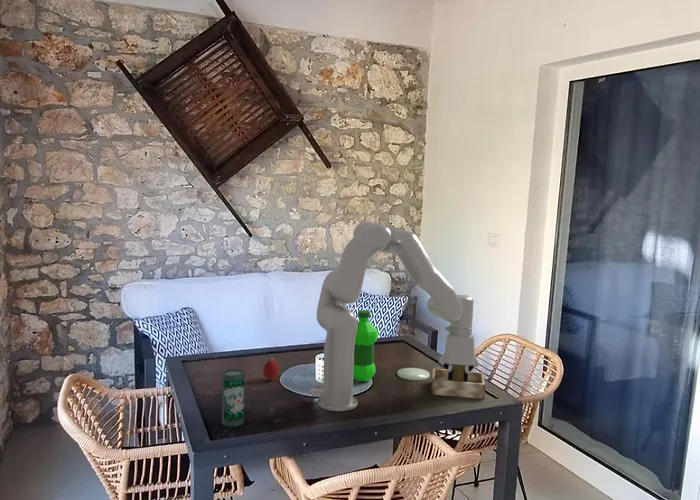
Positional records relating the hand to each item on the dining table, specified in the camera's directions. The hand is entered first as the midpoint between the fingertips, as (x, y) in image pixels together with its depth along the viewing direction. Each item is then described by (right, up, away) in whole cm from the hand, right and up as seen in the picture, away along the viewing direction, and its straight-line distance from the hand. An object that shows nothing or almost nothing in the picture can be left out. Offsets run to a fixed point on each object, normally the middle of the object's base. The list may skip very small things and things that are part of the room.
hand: (457, 382), depth 201 cm
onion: (-65, -1, +4) cm, 65 cm away
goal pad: (-14, -1, +15) cm, 20 cm away
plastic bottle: (-33, -1, +8) cm, 34 cm away
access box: (0, -3, 0) cm, 3 cm away
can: (-72, -5, -32) cm, 78 cm away
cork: (0, -3, 0) cm, 3 cm away
